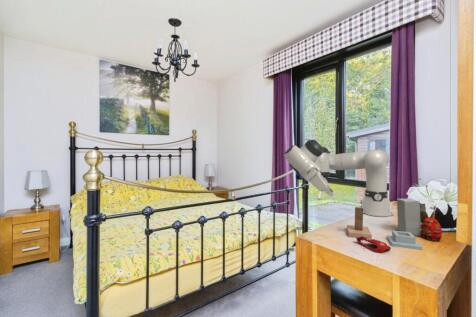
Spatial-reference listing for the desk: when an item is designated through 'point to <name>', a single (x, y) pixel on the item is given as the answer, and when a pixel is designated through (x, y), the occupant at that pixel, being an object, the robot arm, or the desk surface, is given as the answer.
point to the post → (359, 218)
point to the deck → (358, 232)
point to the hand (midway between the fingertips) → (332, 194)
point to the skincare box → (409, 216)
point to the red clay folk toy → (431, 228)
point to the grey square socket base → (403, 240)
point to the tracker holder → (378, 243)
